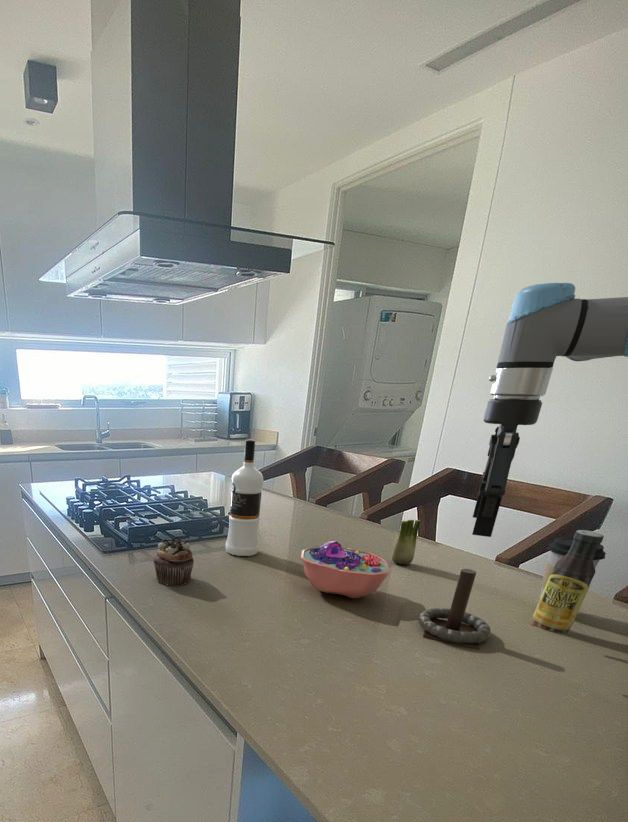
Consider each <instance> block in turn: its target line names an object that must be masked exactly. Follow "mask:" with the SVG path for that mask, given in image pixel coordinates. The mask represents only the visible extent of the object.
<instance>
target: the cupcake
mask: <svg viewBox="0 0 628 822" xmlns="http://www.w3.org/2000/svg"><path fill="white" fill-rule="evenodd" d="M157 547H158V549H157V550H156V556H155V557H154V558H153V559H152V561H153V566H154V570H155V576H156V581H157V580H158V581H159V582H158V581H157V582H158V583H160V582H161V583H160V584H162V583H164V584H168V585H167V586H169V585H180V586H182V585H181V584H183V585H186V584H185V583H187V582H188V581H189V580H190V581H191V577H192V572H193V568H194V563H195V561H194V558H193V552H192V551H191V549H190V543H188V542H186V541H181V540H180V541H179V538H178V537H174V538H172V539H162V540H161V542H159V543H158V544H157ZM190 581H189V582H190ZM189 582H188V583H189ZM188 583H187V584H188ZM164 584H163V585H164Z"/></svg>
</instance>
